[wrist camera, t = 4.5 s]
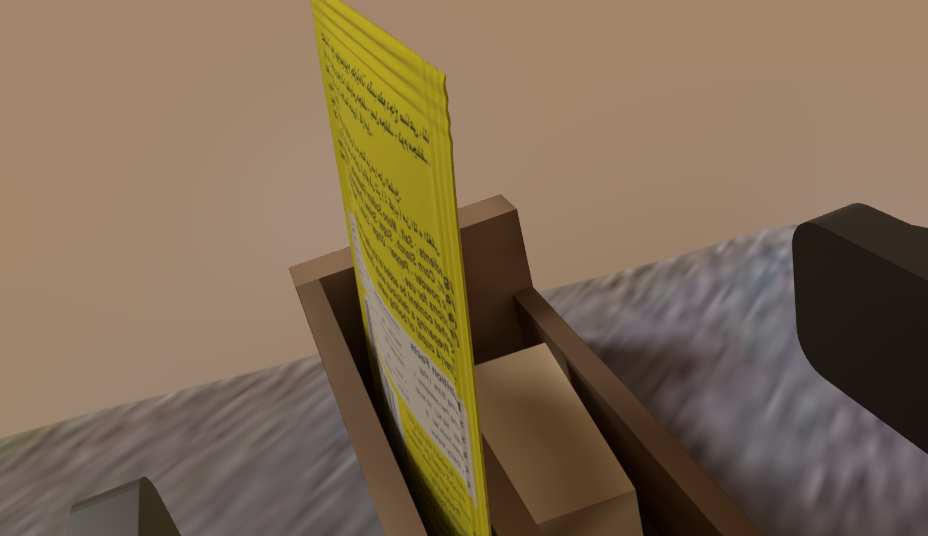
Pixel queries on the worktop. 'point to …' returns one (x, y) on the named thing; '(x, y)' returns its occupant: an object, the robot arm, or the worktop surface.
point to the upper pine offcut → (553, 448)
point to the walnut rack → (493, 336)
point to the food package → (407, 261)
